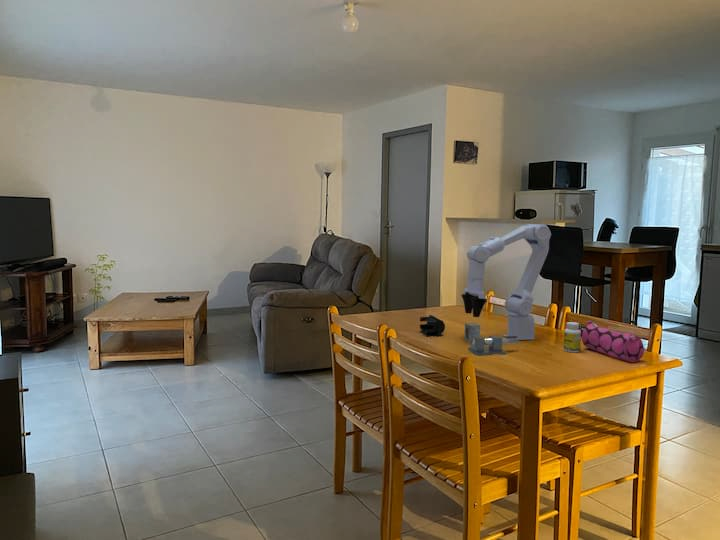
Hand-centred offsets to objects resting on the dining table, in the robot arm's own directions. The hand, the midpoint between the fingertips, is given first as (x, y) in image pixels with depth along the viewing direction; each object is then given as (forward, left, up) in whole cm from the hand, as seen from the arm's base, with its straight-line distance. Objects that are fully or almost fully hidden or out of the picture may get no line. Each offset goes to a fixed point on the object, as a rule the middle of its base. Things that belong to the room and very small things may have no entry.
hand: (472, 315), depth 202 cm
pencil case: (-39, +26, -10) cm, 48 cm away
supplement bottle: (-29, +19, -10) cm, 36 cm away
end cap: (+11, -14, -10) cm, 20 cm away
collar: (0, 0, -10) cm, 10 cm away
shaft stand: (-2, +16, -10) cm, 19 cm away
